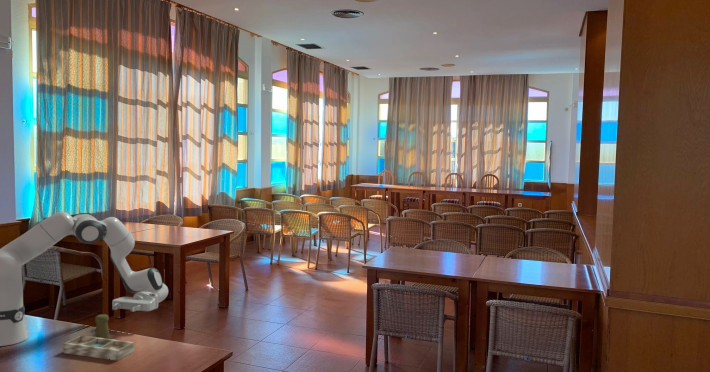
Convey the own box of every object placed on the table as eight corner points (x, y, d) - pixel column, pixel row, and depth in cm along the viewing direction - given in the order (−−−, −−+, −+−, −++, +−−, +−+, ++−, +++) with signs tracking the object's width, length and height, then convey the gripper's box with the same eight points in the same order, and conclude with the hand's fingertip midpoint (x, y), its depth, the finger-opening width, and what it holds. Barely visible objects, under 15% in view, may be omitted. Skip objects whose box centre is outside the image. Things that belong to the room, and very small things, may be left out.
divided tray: (63, 352, 204) (63, 343, 203) (81, 344, 212) (80, 335, 212) (118, 360, 197) (118, 350, 197) (134, 351, 206) (134, 342, 206)
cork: (103, 343, 214) (103, 317, 214) (91, 341, 216) (90, 316, 215) (113, 338, 220) (112, 313, 220) (100, 336, 222) (100, 312, 221)
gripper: (123, 292, 245) (102, 300, 232) (160, 295, 240) (141, 304, 226) (124, 304, 245) (103, 313, 232) (161, 308, 240) (141, 317, 227)
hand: (122, 309), depth 229 cm, fingers open, 8 cm apart
